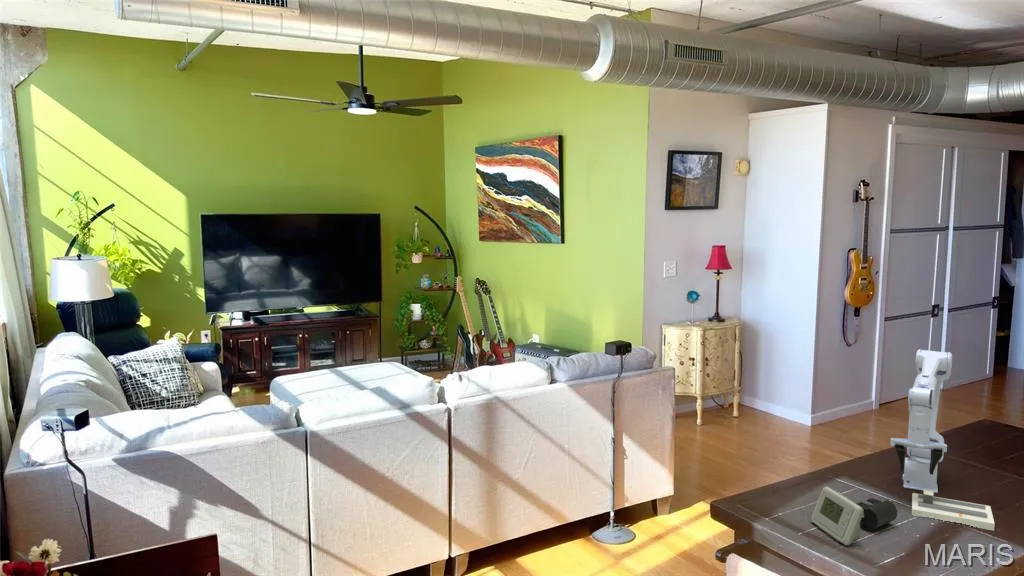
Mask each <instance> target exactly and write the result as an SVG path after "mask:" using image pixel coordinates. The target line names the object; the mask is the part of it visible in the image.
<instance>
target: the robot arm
mask: <svg viewBox="0 0 1024 576" xmlns="http://www.w3.org/2000/svg"><path fill="white" fill-rule="evenodd" d="M914 363H915V364H914V365H915V367H916V368H915V369H916V372H917V376H916V377H915V380H914V383H913V385H912V388H911V387H910V388H909V390H908V397H907V402H908V412H909V414H908V431H907V438H906V437H905V438H898V437H896V438H895V437H891V438H890V446H891V447H894V449H895V451H896V454H897V456H898V460H899V466H900V467H899V468H900V471H901V472H904V473H903V474H902V481H903V486H902V487H903V488H905V489H910V490H917V491H921V492H922V491H923V492H924V489H928V490H933V494H938V493H939V490H938V488H939V487H938V483H937V479H938V464H939V463H941V462H942V461H943V459H944V455H945V453H947V451H948V445H947V444H946V443H945V439H944V437H943V436H942V435H941V434H940V433H939V432H937V429H936V428H937V427H936V426H937V419H938V411H939V400H940V393H941V387H942V384H943V382H944V381H946V380H949V379H950V376H951V374H952V365H953V354H952V353H951V351H948V352H945V351H937V350H936V351H935V350H928V349H927V350H926V349H921V348H920V349H918V350H916V354H915V362H914ZM905 447H906V451H905ZM905 453H907V456H908V457H905V455H906V454H905Z"/></svg>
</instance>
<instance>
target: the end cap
mask: <svg viewBox="0 0 1024 576" xmlns="http://www.w3.org/2000/svg"><path fill="white" fill-rule="evenodd" d="M866 502H868V503H870V504H867V503H866ZM866 502H863V501H860V502H857V503H856V504H857V505H859V506H860V507H862V508H863V510H864V512H863V516H862V518H861V520H860V529H863V530H865V531H872V530H875V529H878V528H880V527H882V526H885V525H887V524H889V523H892V522H894V521H895V520H897V517H898V509H897V506H896V505H895V504H894V503H893V502H892V501H891V500H888V499H886V500H884V501H883V500H879V499H876V498H873V497H871V498H867V499H866Z"/></svg>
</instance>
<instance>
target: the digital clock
mask: <svg viewBox="0 0 1024 576" xmlns="http://www.w3.org/2000/svg"><path fill="white" fill-rule="evenodd" d="M817 499H818V500H817V502H816V505H815V508H814V510H813V513H812V515H811V521H812V523H813V524H814V525H816V526H818V528H819V529H820V530H822V531H823V532H825V533H826V534H827V535H829V536H830V537H832V538H833V539H834V540H836V541H837V542H840V543H841V544H842V545H844V546H851V544H852V543H853V541H858V540H860V536H861V534H860V533H861V528H860V520H861V518H862V517H863V516H864V514H863V512H864V510H863V508H862V507H860V506H859V505H857V503H856V502H855V501H853V500H851V498H848V497H847V496H845V495H843V494H842V493H840V492H838V491H837V490H834V489H832V488H830V487H829V486H825V487H823V488H822V490H821V492H820V495H819V498H817Z"/></svg>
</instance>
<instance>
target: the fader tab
mask: <svg viewBox="0 0 1024 576" xmlns="http://www.w3.org/2000/svg"><path fill="white" fill-rule="evenodd" d="M934 494H935V493H934V492H933V490H928V489H924V491H923V494H922V495H923V503H926V504H931V505H933V496H934ZM934 497H935V496H934Z"/></svg>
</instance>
